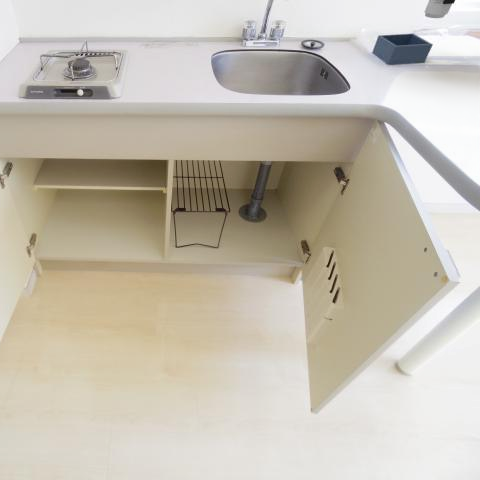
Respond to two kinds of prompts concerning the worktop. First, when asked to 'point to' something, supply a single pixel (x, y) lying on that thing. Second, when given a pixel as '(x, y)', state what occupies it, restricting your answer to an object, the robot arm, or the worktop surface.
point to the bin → (401, 48)
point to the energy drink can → (437, 9)
